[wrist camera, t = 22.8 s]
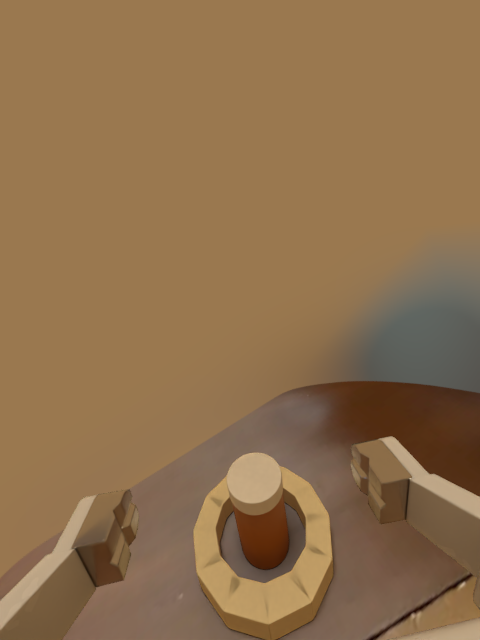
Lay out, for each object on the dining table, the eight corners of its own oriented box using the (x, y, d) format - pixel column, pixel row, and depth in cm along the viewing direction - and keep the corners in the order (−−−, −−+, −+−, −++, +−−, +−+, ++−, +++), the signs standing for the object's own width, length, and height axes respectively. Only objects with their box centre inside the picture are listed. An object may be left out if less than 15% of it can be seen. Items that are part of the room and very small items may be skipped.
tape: (193, 501, 31) (189, 487, 30) (291, 464, 34) (290, 451, 33) (209, 675, 18) (203, 658, 17) (365, 592, 21) (365, 574, 20)
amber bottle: (230, 546, 26) (215, 482, 23) (259, 504, 29) (248, 444, 27) (272, 585, 22) (260, 516, 20) (299, 531, 26) (291, 467, 23)
